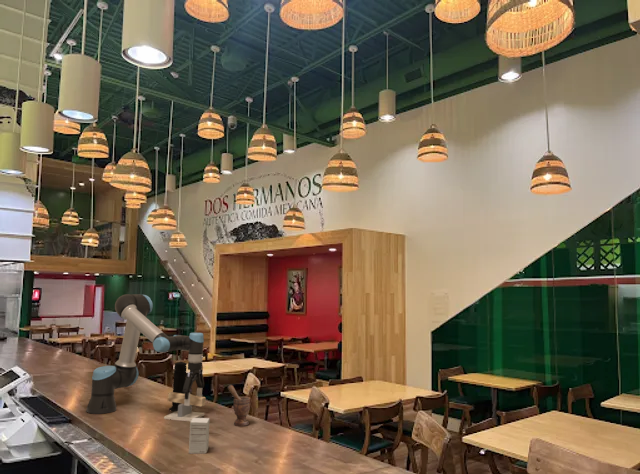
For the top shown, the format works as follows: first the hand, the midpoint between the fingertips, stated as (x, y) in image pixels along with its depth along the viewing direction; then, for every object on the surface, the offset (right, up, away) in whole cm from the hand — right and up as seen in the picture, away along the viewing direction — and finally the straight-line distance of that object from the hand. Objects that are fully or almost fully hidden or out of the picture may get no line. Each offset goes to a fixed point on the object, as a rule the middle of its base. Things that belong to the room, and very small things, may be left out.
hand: (193, 402), depth 264 cm
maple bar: (-4, 0, +1) cm, 4 cm away
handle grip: (-13, -10, +17) cm, 24 cm away
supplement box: (+17, -2, -56) cm, 58 cm away
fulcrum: (-5, -8, 0) cm, 9 cm away
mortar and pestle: (+26, -7, -13) cm, 30 cm away
